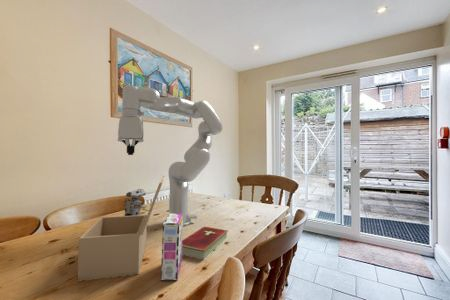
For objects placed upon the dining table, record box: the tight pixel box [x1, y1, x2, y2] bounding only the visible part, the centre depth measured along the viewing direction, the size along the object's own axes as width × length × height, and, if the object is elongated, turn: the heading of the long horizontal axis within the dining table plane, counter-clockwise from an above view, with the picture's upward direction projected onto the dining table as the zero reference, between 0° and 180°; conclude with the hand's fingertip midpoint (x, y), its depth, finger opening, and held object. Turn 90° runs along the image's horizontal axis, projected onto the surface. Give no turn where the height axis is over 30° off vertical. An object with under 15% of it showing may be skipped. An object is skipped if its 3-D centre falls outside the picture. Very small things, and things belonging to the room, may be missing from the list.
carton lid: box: [140, 175, 165, 235], centre depth 75 cm, size 16×20×1 cm
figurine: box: [123, 188, 147, 216], centre depth 120 cm, size 9×12×15 cm
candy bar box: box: [160, 213, 184, 281], centre depth 67 cm, size 11×5×16 cm, turn 5°
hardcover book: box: [182, 226, 229, 260], centre depth 85 cm, size 12×21×4 cm, turn 157°
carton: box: [77, 214, 148, 282], centre depth 72 cm, size 16×20×12 cm
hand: (130, 154), depth 96 cm, fingers closed
